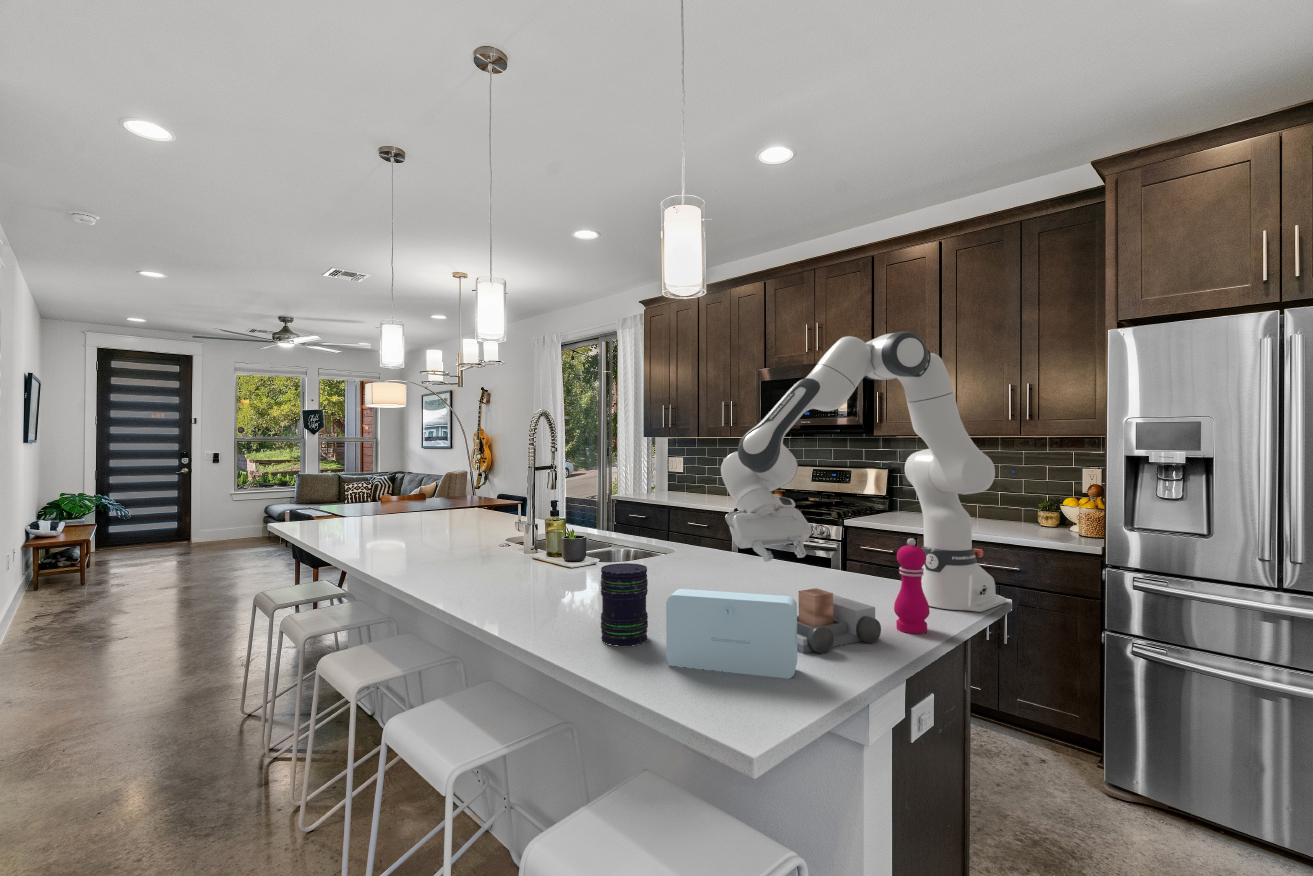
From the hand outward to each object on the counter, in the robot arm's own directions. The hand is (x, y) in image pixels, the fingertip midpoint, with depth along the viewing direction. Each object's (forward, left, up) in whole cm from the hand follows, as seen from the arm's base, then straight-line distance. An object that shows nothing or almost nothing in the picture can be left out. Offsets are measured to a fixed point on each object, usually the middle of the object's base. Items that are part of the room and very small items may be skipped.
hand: (786, 557), depth 142 cm
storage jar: (+36, -9, -15) cm, 40 cm away
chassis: (-1, +9, -15) cm, 18 cm away
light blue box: (+26, +16, -15) cm, 34 cm away
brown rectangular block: (0, +9, -14) cm, 17 cm away
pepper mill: (-22, +15, -15) cm, 31 cm away
